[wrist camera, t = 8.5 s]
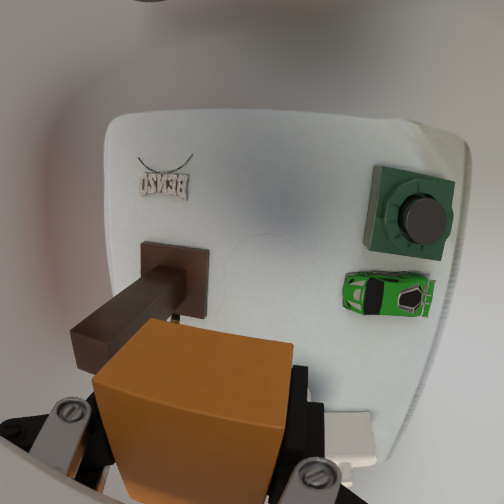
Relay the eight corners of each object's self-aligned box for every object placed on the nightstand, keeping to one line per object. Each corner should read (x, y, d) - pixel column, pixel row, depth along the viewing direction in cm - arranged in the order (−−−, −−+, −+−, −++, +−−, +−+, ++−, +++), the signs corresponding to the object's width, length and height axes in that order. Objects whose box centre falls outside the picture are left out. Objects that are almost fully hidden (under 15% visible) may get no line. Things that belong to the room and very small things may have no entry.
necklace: (192, 200, 33) (194, 153, 32) (190, 201, 32) (192, 153, 31) (138, 196, 34) (140, 152, 32) (136, 197, 33) (137, 152, 32)
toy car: (340, 309, 34) (342, 318, 32) (344, 269, 32) (347, 276, 30) (422, 310, 32) (428, 319, 30) (429, 272, 31) (436, 279, 29)
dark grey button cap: (403, 192, 25) (410, 194, 23) (441, 200, 25) (450, 202, 23) (395, 236, 26) (402, 241, 24) (433, 242, 26) (442, 247, 24)
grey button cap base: (373, 165, 29) (386, 165, 24) (442, 180, 28) (463, 183, 23) (362, 242, 31) (372, 255, 27) (429, 252, 30) (447, 266, 26)
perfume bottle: (370, 410, 37) (382, 478, 25) (367, 420, 37) (377, 487, 26) (313, 410, 38) (310, 480, 27) (311, 420, 39) (308, 489, 27)
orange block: (150, 316, 10) (90, 378, 6) (294, 342, 9) (284, 428, 6) (162, 438, 11) (129, 498, 8) (268, 461, 11) (255, 532, 7)
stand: (144, 241, 35) (43, 295, 19) (209, 250, 34) (132, 321, 18) (145, 303, 38) (62, 381, 21) (206, 315, 37) (144, 412, 20)
